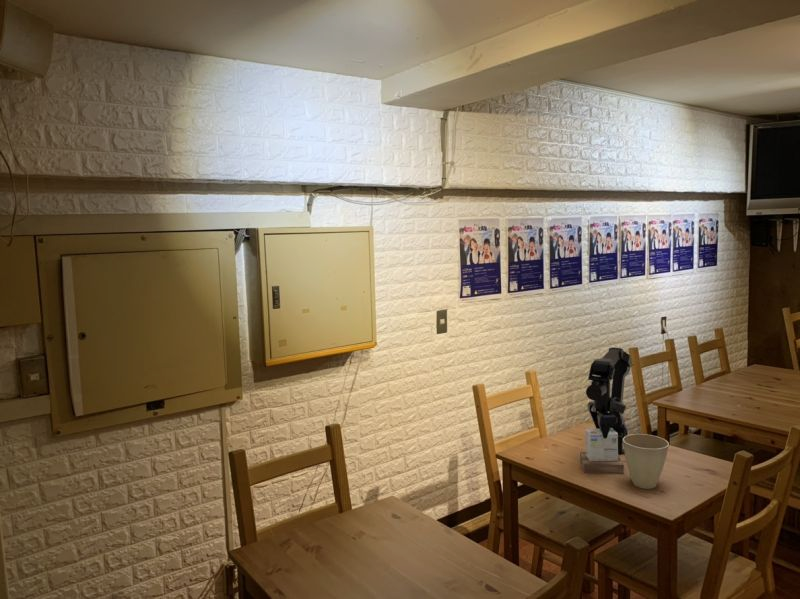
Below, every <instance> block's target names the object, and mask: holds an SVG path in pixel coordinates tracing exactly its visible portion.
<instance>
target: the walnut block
mask: <svg viewBox="0 0 800 599" xmlns="http://www.w3.org/2000/svg"><path fill="white" fill-rule="evenodd" d="M579 463H580V464H581V468H582V471H583V474H603V475H604V474H605V475H606V474H607V475H608V474H609V475H624V474H625V472H624V471H625V466H624V463H623V461H622V460H621V458H620V454H618V461H589V459H588V458H587V456H586V451H583V452H582V451H580V452H579Z"/></svg>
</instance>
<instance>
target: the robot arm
mask: <svg viewBox="0 0 800 599" xmlns="http://www.w3.org/2000/svg"><path fill="white" fill-rule="evenodd" d="M632 364H633V360H632V357H631V355H630V354H629V353H627V352H625V351H624V349H623V348H622V347H612V346H611V347H609V348H608V351H607V352H606V353H605V354H604V356H603V357H602V358H601V357H600V358H596V359H594V360H593V362H592V363H591V365H590V369H589V372H588V378H587V379H588V380H589V381H591V384H590V385H589V386H587V388H586V390H585V394H586V396H587V398H588V399H589V400H591V401H589V402H588V403H587V410H588V412H589V414H590V416H591V419H592V423H593V425H594V426H595V429H601V432H602V435H603V438H604V439H605V438H607V436H608V433H609V430H610V428H613V429H614V430H615V431H616V432H617V433H618V455H621V454H622V455H625V452H624V444H623V438H624V437H625V436H627V435H629V433H628V432H629V431H628V430H629V429H628V428H627V425H626V419H625V418H624V416H623V415H624V414H625V411H626V408H627V405H626V404H624V403H623V401H624V398H623V397H624V392H625V391H624V389H625V380H626V379H625V378H626V377H627V376H628V374H629V373H630V371H631V368H632ZM611 382H612V383H611ZM611 384H612V385H611Z"/></svg>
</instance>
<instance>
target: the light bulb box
mask: <svg viewBox="0 0 800 599" xmlns="http://www.w3.org/2000/svg"><path fill="white" fill-rule="evenodd" d="M585 452H586V456H587V458H588V459H589V461H618V455H619V454H618V433H617V432H616V431H615V430H614V429H613V428H610V430H609V433H608V436H607V438H605V439H604V438H603V435H602V432H601V429H596V428H585Z"/></svg>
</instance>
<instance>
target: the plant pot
mask: <svg viewBox="0 0 800 599" xmlns="http://www.w3.org/2000/svg"><path fill="white" fill-rule="evenodd" d="M669 446H670V443H669V441H667V440H666V439H664V438H663V437H659V436H657V435H652V434H645V433H632V434H628V435H627V436H625V437H624V438H623V450H624V452H625V454H624V456H625V460H626V462H625V463H626V465H627V470H628V472H629V476H630V478H631V481H632V484H633V485H634V486H635V487H637V488H639V489H643V490H644V489H645V490H650V489H654V488H656V487H657V484H658V482H659V480H660V478H661V475H662V472H663V470H664V467H665V463H666V460H667V456H668V451H669Z"/></svg>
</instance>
